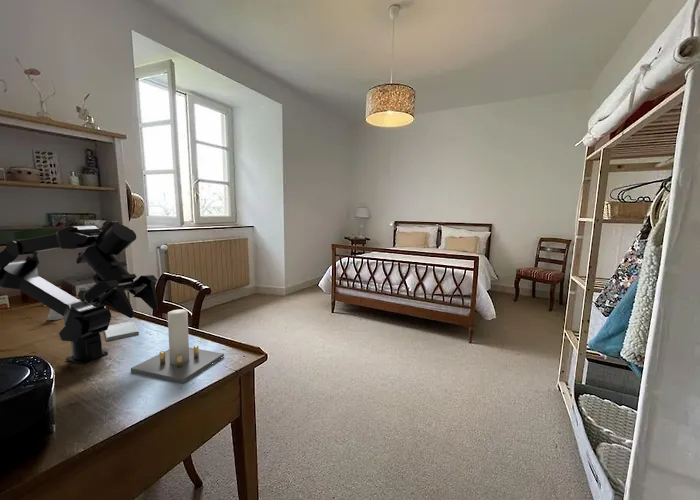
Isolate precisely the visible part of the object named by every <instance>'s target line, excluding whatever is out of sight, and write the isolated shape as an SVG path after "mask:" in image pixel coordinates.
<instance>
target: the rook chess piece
mask: <svg viewBox="0 0 700 500" xmlns="http://www.w3.org/2000/svg"><path fill="white" fill-rule="evenodd" d="M62 319H64V318H63V316H62V315H61V314H59V313H57V312H56V311H54V310H52V309H51V308H49V312H48V315H47V320H48V321H50V320H54V321H59V320H62Z"/></svg>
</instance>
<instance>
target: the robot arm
mask: <svg viewBox="0 0 700 500" xmlns="http://www.w3.org/2000/svg"><path fill="white" fill-rule="evenodd" d="M136 239H137V234H136V232H135V231H134V230H132V229H131V228H129V227H128V226H126V225H124V224H121V223H120V222H119V221H117V220H115V221H113V220H112V221H109V222H108V223H107V226H106V227H104V229H103V230H100V229H99V228H98V227H97V225H68V226H65V227H63V228H60V229H58V230H57V231H56V232H54V233H53V234H46V235H39V236H35V237H30V238H22V239H13V240H11V241H8V243H7V244H6V245H5V248H4V249H3V250H2V251H1V252H0V288H2V289H10V290H18V291H21V292H23V293H24V294H26V296H27V295H28V296H29V297H31V298H32V299H34V300H35V301H38V302H39V303H41V304H42V305H44V306H46V307H47V308H49V309H50V308H51V309H52V310H54V311H56V312H57V313H59V314H61V315H62V316H63V318H62V319H63V322H64V327H63V328H62V329H61V330H60V331H59V333H58V334H59V338H60V340H61V341H63V342H70V343H71V354H72V355H70V356H68V357H65V361H68V362H72V363H76V364H81V365H82V364H83V365H84V364H86V363H88V362H91V361H92V360H95V359H99V358H100V357H103V356H105V355H108V353H109V352H108V351H105V350H103V345H102V344H103V343H102V339H101V337H102V336H101V335H102V334H100V333H103V332H104V331H106V330H108V326H109V325H110V323H111V319H112V313H111V311H110V309H109V308H108V307H110V308H112V309H114V310H115V311H118V312H119V313H121V314H122V315H124V316H126V318H127V317H128V318H129V319H132V318H134V317H135V311H134V310H133V306H132V304H131V302H130V300H129V297H128V296H127V294H126V291H128V292H129V293H130V294H132V295H133V298H139V299H141V300H142V301H143V302H144V303H146V305H147V306H148V307H149V308H150V309H151V310H153V311H155V312H156V311H157V310H158V309H159V305H158V303H159V302H158V298H157V290H156V288H157V287H156V285H157V282H159V281H158V279H157V278H156V276H155V275H154V274H145V275H140V276H139V277H137V274H136V273H130V272H129V271H128V270H127V269H126V266H127V265H128V264H127V263H126V261H120V260H119V259H118V258H117V256H119V255H121V254H122V253H124V251H126V249H127V248H129V247H130V246H131V245H132V244H133V243H134V242H135V241H136ZM56 249H63V250H76V249H77V250H78V249H85V250H84V251H82V252H78V253H77V258H76V262H75V263H76V264H79V265H81V264H87V265H88V267H89V268H90V269H91V270H92V271H93V273H94V274H95V275H93V276H92V279H93V281H94V282H95V284H93V285H92V286H90V287H89V288H87V289H81V290H79V292H78V293H77V297H78V298H79V299H78V298H76V297H75V296H74V295H72V294H69V293H68V292H67V291H65V290H63V289H61V288H60V287H58V286H56V285H55V284H53V283H51V282H49V281H48V280H46V279H45V278H42V277H41V276H40V275H39V269H38V266H39V264H40V261H39V257H38V253H39V252H44V251H45V252H46V251H50V250H56ZM21 255H22V256H23V255H27V256H26V258H25V259H18V260H16V259H17V258H18V256H21ZM135 279H136V280H135ZM106 306H108V307H106Z"/></svg>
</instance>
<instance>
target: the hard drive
mask: <svg viewBox="0 0 700 500" xmlns="http://www.w3.org/2000/svg"><path fill="white" fill-rule="evenodd" d="M103 332H104V336H105V340H106V342H108V341H109V342H110V341H113V340H118V339H124V338H128V337H133V336H138V334H139V335H140V331H139V329H138V328H137V326H136V324H135V322H134V321H127V322H121V323H116V324H111V325H110V324H109V326H108V330H106V331H103Z"/></svg>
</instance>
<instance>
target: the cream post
mask: <svg viewBox="0 0 700 500" xmlns="http://www.w3.org/2000/svg"><path fill="white" fill-rule="evenodd" d="M167 327H168V348H169V349H168V350H169V353H170V363H171V364H177V355H179V354H181V355H182V363H185V362H187V361H188V360H189V347H190V344H189V343H190V342H189V316H188V309H183V308H182V309H173V310H171V311H168V312H167Z"/></svg>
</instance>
